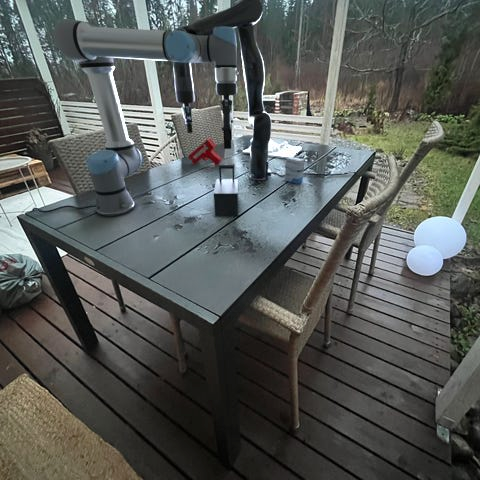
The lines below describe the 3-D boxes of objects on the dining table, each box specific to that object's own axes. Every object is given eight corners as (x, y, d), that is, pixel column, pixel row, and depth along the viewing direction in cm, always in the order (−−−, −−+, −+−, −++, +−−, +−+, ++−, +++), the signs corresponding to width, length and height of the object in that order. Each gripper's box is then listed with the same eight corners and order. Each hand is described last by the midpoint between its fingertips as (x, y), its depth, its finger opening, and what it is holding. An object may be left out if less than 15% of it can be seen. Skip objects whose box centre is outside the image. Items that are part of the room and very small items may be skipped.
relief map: (291, 159, 177) (291, 151, 174) (243, 153, 190) (243, 145, 187) (302, 149, 197) (303, 142, 194) (258, 144, 211) (258, 137, 208)
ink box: (302, 181, 142) (305, 159, 136) (297, 184, 139) (300, 161, 133) (289, 177, 147) (291, 156, 141) (284, 180, 144) (285, 158, 138)
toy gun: (225, 158, 166) (210, 137, 162) (223, 160, 163) (207, 139, 159) (205, 174, 176) (191, 154, 172) (202, 176, 173) (188, 156, 169)
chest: (217, 201, 123) (216, 181, 118) (238, 200, 123) (238, 181, 118) (215, 216, 111) (213, 195, 106) (237, 216, 110) (237, 195, 106)
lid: (216, 181, 119) (215, 162, 115) (238, 181, 119) (237, 162, 115) (213, 195, 106) (212, 175, 101) (237, 195, 106) (237, 175, 101)
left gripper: (236, 84, 85) (237, 152, 97) (237, 80, 106) (237, 137, 118) (213, 84, 85) (216, 152, 97) (217, 80, 106) (220, 137, 118)
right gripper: (195, 90, 107) (199, 133, 116) (192, 88, 119) (195, 127, 128) (176, 91, 106) (181, 134, 114) (174, 88, 117) (179, 128, 126)
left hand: (228, 144), depth 107 cm, fingers open, 13 cm apart
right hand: (189, 130), depth 121 cm, fingers open, 8 cm apart
